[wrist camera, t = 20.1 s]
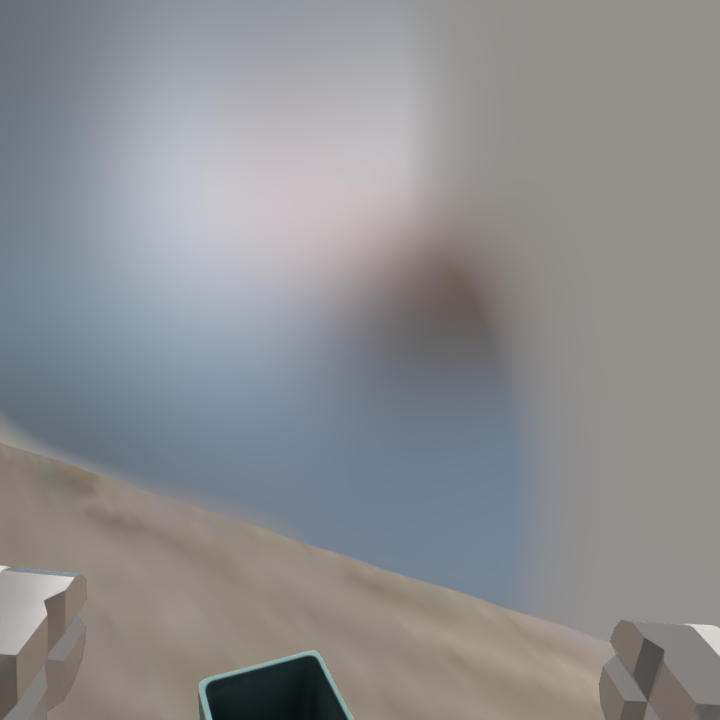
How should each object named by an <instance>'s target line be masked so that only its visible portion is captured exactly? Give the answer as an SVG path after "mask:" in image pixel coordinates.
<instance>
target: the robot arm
mask: <svg viewBox="0 0 720 720" xmlns="http://www.w3.org/2000/svg"><path fill="white" fill-rule="evenodd" d="M86 600H87V586H86V579H85V577H84V576H83V575H82V574H76V573H67V572H57V571H48V570H39V569H29V568H20V567H7V566H0V720H47V712H48V711H49V710H51V709H52V708H54V707H55V706H56V705H58V704H59V703H61V702H62V701H64V699H65V698H66V696H67V694H68V692H69V690H70V688H71V687H72V685H73V683H74V681H75V678H76V675H77V672H78V669H79V667H80V664H81V661H82V657H83V652H84V646H85V639H86V626H85V624H84V623H83V622H82V620H81V619H80V618H79V616H78V615H77V614H78V612H79V611H80V609H81V608H82V606H83V605H84V603H85V602H86ZM610 642H611V645H612V647H613V649H614V651H615V653H616V655H615V656H614V657H613V658H611V659H610V660H609V661H608V662H607V663H606V664H605V665H604V666H603V669H602V673H601V678H600V682H599V691H600V702H601V707H602V710H603V713H604V716H605V719H606V720H720V629H719V628H717V627H715V626H713V625H696V624H681V625H677V624H665V623H652V622H640V621H627V620H621V621H620V622H619V623H618V624H617V626H616V627H615V628H614V631H613V634H612V637H611V641H610Z"/></svg>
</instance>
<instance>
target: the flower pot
mask: <svg viewBox="0 0 720 720" xmlns="http://www.w3.org/2000/svg"><path fill="white" fill-rule="evenodd" d="M198 697H199V712H200V720H354V718H353V716H352V715H351V713H350V711H349V709H348V707H347V705H346V703H345V701H344V700H343V697H342V696H341V694H340V692H339V690H338V688H337V686H336V685H335V682H334V681H333V679H332V676H331V675H330V673H329V671H328V669H327V667H326V665H325V662H324V660H323V658H322V656H321V655H320V654H319V653H318V652H317V651H315V650H311V651H306V652H302V653H299V654H295V655H292V656H288V657H284V658H280V659H277V660H273V661H269V662H266V663H262V664H258V665H254V666H250V667H247V668H243V669H238V670H235V671H232V672H228V673H224V674H219V675H216V676H212V677H209V678H206V679H204V680H202V681H200V682H199V684H198Z"/></svg>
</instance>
